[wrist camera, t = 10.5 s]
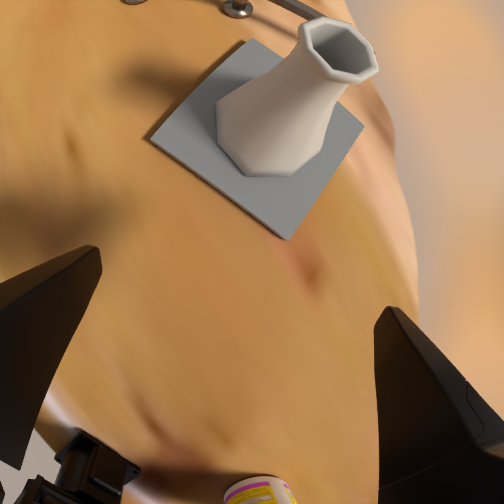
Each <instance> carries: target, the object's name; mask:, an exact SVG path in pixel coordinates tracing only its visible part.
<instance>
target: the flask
mask: <svg viewBox="0 0 504 504" xmlns="http://www.w3.org/2000/svg"><path fill="white" fill-rule="evenodd" d="M298 35H299V42H298V43H297V45H296V46H295V48H294V49H293V50H292V52H291V53H290V54H289V55H288V56H287V57H286V58H285V59H283V60H282V61H281V62H280V63H279V64H278V65H276V66H275V67H274V68H273V69H272V70H271V71H269V72H267V73H264V74H262V75H260V76H258V77H256V78H254V79H252V80H251V81H249V82H247V83H246V84H244V85H242V86H241V87H239V88H237V89H236V90H234V91H233V92H231V93H230V94H228V95H226V96H225V97H223V98H222V99H220V100H219V101H217V102H216V124H217V143H218V144H219V145H220V146H221V147H222V149H223V150H224V151H225V152H226V153H227V154H228V155H229V157H230V158H231V159H232V160H233V161H234V162H235V164H236V165H237V166H238V167H239V168H240V169H241V170H242V172H243V173H244V174H245V175H246V176H247V177H272V176H292V175H293V174H294V173H295V172H296V171H298V170H299V169H300V168H301V167H302V166H304V165H305V164H306V163H307V162H308V161H310V160H311V159H312V158H313V157H315V156H316V155H317V154H318V153H319V152H320V150H321V147H322V144H323V140H324V136H325V132H326V129H327V126H328V123H329V120H330V117H331V114H332V111H333V108H334V105H335V103H336V102H337V100H338V99H339V98H340V96H341V95H342V93H343V92H344V90H345V89H346V87H347V86H348V85H349V84H351V85H357V84H360V83H361V82H363V81H364V80H366V79H367V78H369V77H371V76H372V75H374V74H375V73H377V72H378V71H379V68H378V65H377V61H376V58H375V54H374V51H373V48H372V45H371V44H370V43H369V42H368V41H367V40H366V39H365V38H364V37H363V36H362V35H361V34H360V33H359V32H358V30H357V29H356V28H355V27H354V26H353V25H352V24H351V23H347V22H344V21H340V20H336V19H333V18H329V17H325V16H321V17H318V18H315V19H313V20H310V21H307V22H305V23H302V24H301V25H300V26H299V27H298Z"/></svg>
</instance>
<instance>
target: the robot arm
mask: <svg viewBox="0 0 504 504" xmlns="http://www.w3.org/2000/svg"><path fill="white" fill-rule="evenodd" d="M101 275H102V263H101V256H100V251H99V248H98V247H96V246H92V245H85V246H82V247H80V248H77V249H75V250H73V251H70V252H68V253H65V254H63V255H61V256H58V257H56V258H54V259H52V260H49V261H47V262H45V263H43V264H40V265H38V266H36V267H34V268H32V269H29V270H27V271H25V272H23V273H21V274H19V275H17V276H15V277H13V278H10V279H8V280H6V281H4V282H2V283H0V460H1V461H3V462H4V463H6V464H8V465H10V466H11V467H13V468H15V469H17V470H20V469H21V466H22V463H23V459H24V456H25V452H26V449H27V446H28V443H29V440H30V437H31V433H32V431H33V428H34V425H35V422H36V419H37V416H38V414H39V411H40V408H41V406H42V403H43V401H44V398H45V396H46V393H47V391H48V389H49V386H50V384H51V382H52V379H53V377H54V375H55V372H56V370H57V368H58V366H59V364H60V361H61V359H62V357H63V355H64V353H65V351H66V349H67V347H68V345H69V343H70V341H71V339H72V337H73V335H74V333H75V331H76V329H77V327H78V325H79V323H80V321H81V320H82V318H83V316H84V314H85V311H86V309H87V307H88V305H89V302H90V300H91V297H92V295H93V293H94V291H95V288H96V286H97V284H98V282H99V279H100V277H101ZM374 373H375V385H376V397H377V411H378V430H379V491H378V504H504V421H503V420H502V419H501V418H500V417H499V415H498V414H497V413H496V412H495V411H494V410H493V409H492V408H491V407H490V406H489V405H488V404H487V403H486V402H485V400H484V399H483V398H482V397H481V396H480V395H479V394H478V393H477V391H476V390H475V389H474V388H473V387H472V386H471V385H470V383H469V382H468V381H466V379H465V378H464V377H463V376H462V374H461V373H460V372H459V371H458V370H457V369H456V367H455V366H454V365H453V364H452V363H451V362H450V361H449V360H448V359H447V357H446V356H445V355H444V354H443V353H442V352H441V351H440V350H439V349H438V348H437V347H436V345H435V344H434V343H433V342H432V341H431V340H430V339H429V338H428V337H427V336H426V335H425V334H424V333H423V332H422V331H421V330H420V329H419V328H418V326H417V325H416V324H415V323H414V322H413V321H412V320H411V319H410V318H409V317H408V316H407V315H406V314H405V313H404V312H403V311H402V310H401V309H400V308H398V307H394V306H387V307H386V308H385V309H384V310H383V312H382V314H381V315H380V317H379V319H378V320H377V322H376V324H375V326H374ZM82 436H83V437H82ZM54 459H55V460H56V461H57V462H58V463H60V464H61V468H60V470H59V473H58V475H57V478H56V481H55V483H54V484H52V483H50V482H49V481H47V480H45V479H44V477H42V476H40V475H37V477H36V479H28V481H27V483H26V485H25V487H24V489H23V491H22V493H21V494H20V496H19V497H18V498H17V500H16V501H15V503H14V504H121V501H122V494H123V486H124V485H125V484H127V483H128V482H130V481H131V480H133V479H135V478H136V477H138V476H139V475H140V474H141V469H140V468H139V467H137V466H135V465H134V464H132V463H130V462H129V461H127V460H125V459H124V458H122V457H121V456H119V455H117V454H116V453H114V452H113V451H111V450H110V449H108V448H107V447H105V446H104V445H102V444H101V443H99V442H98V441H97V440H95V439H94V438H92V437H91V436H90V435H88V434H87V433H86V432H83V431H80V432H78V433H77V434H76V435H75V436H74V437H73V438H72V439H71V440H70V441H69V442H68V443H67V444H66V445H65V446H64V447H63V448H62V449H61V450H60V451H59V452H58V453H57V454H56V455H55V457H54ZM4 496H5V492H4V490H3V487H2V484H1V481H0V504H2V502H3V499H4Z"/></svg>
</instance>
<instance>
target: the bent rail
mask: <svg viewBox="0 0 504 504" xmlns="http://www.w3.org/2000/svg"><path fill="white" fill-rule="evenodd" d="M124 1H125V3H127V4H129V5H137V4H141V3H143V2H145V1H147V0H124ZM268 1H270V2H272V3H275V4H277V5H279V6H281V7H283V8H285V9H287V10H289V11H291V12H293V13H295V14H297V15H299V16H301V17H302V18H304V19H306V20H308V21H310V20H313V19H315V18H318V17H321V16H325V15H323V14H321V13H320V12H318V11H316V10H314V9H313V8H311V7H309V6H307V5H305V4H303V3H301V2H299V1H298V0H268ZM252 10H253V6H252V4H251V3H250V2H248V0H228V1H226V2H225V4H224V8H223V11H224V13H225V14H226V15H228V16H229V17H232V18H236V19H243V18H247V17H249V16H250V15H251V13H252ZM325 17H327V16H325ZM374 54H375V53H374Z"/></svg>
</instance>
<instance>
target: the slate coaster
mask: <svg viewBox="0 0 504 504" xmlns="http://www.w3.org/2000/svg"><path fill="white" fill-rule="evenodd" d="M282 60H283V58H282V57H281V56H279V55H278V54H276V53H275V52H273V51H272V50H270V49H269V48H267V47H266V46H264V45H263V44H261V43H260V42H258V41H257V40H255V39H253V38H251V39H250V40H248V41H247V42H246V43H245V44H244V45H242V46H241V47H240V48H239V49H238V50H237V51H235V52H234V53H233V54H232V55H231V56H230V57H229V58H227V59H226V60H225V61H224V62H223V63H222V64H221V65H220V66H219V67H218V68H216V69H215V70H214V71H213V72H212V73H211V74H210V75H209V76H208V77H207V78H206V79H205V80H204V81H203V82H202V83H201V84H200V85H199V86H198V87H197V88H196V89H195V90H194V91H193V92H192V93H191V94H190V95H189V96H188V97H187V98H186V99H185V100H184V101H183V102H182V103H181V104H180V106H179V107H178V108H177V109H176V110H175V111H174V112H173V113H172V114H171V115H170V116H169V118H168V119H167V120H166V121H165V122H164V123H163V124H162V126H161V127H160V128H159V129H158V130H157V131H156V133H155V134H154V135H153V136H152V137H151V139H150V140H151V142H152V143H153V144H154V145H156V146H157V147H159V148H160V149H161V150H163V151H164V152H166V153H167V154H168V155H170V156H171V157H173V158H174V159H175V160H177V161H178V162H180V163H181V164H182V165H184V166H185V167H186V168H188V169H189V170H191V171H192V172H193V173H195V174H196V175H197V176H199V177H200V178H202V179H203V180H204V181H206V182H207V183H208V184H210V185H211V186H213V187H214V188H215V189H217V190H218V191H219V192H221V193H222V194H223V195H225V196H226V197H227V198H229V199H230V200H231V201H233V202H234V203H235V204H237V205H238V206H239V207H241V208H242V209H243V210H245V211H246V212H247V213H249V214H250V215H251V216H253V217H254V218H255V219H257V220H258V221H259V222H261V223H262V224H263V225H265V226H266V227H267V228H268V229H270V230H271V231H272V232H274V233H275V234H276V235H278V236H279V237H280V238H281V239H283V240H284V241H289V239H290V238H291V236H292V235H293V233H294V232H295V230H296V229H297V227H298V226H299V225H300V223H301V222H302V220H303V219H304V217H305V216H306V214H307V213H308V211H309V210H310V208H311V207H312V205H313V204H314V202H315V201H316V199H317V198H318V196H319V195H320V193H321V192H322V190H323V189H324V187H325V186H326V184H327V183H328V181H329V180H330V178H331V177H332V175H333V174H334V172H335V171H336V169H337V168H338V166H339V165H340V163H341V162H342V160H343V159H344V157H345V156H346V154H347V153H348V151H349V150H350V148H351V147H352V145H353V143H354V142H355V140H356V139H357V137H358V136H359V134H360V133H361V131H362V130H363V128H364V125H363V124H362V123H361V122H360V121H359V120H358V119H357V118H356V117H354V116H353V115H352V114H351V113H350V112H349V111H348V110H347V109H346V108H345V107H344V106H342V105H341V104H340V103H339V102H338V101H337V102H336V103H335V105H334V108H333V111H332V114H331V117H330V120H329V123H328V126H327V129H326V132H325V136H324V140H323V144H322V147H321V150H320V152H319V153H318V154H317V155H316V156H315V157H313V158H312V159H311V160H310V161H308V162H307V163H306V164H305V165H304V166H302V167H301V168H300V169H299V170H298V171H296V172H295V173H294V174H293V175H292V176H272V177H247V176H246V175H245V174H244V173H243V172H242V170H241V169H240V168H239V167H238V166H237V165H236V164H235V162H234V161H233V160H232V159H231V158H230V157H229V155H228V154H227V153H226V152H225V151H224V150H223V149H222V147H221V146H220V145H219V144H218V143H217V124H216V102H217V101H219V100H220V99H222V98H223V97H225V96H226V95H228V94H230V93H231V92H233V91H234V90H236V89H237V88H239V87H241V86H242V85H244V84H246V83H247V82H249V81H251V80H252V79H254V78H256V77H258V76H260V75H262V74H264V73H267V72H269V71H271V70H272V69H273V68H274V67H275V66H276V65H278V64H279V63H280V62H281V61H282Z"/></svg>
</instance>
